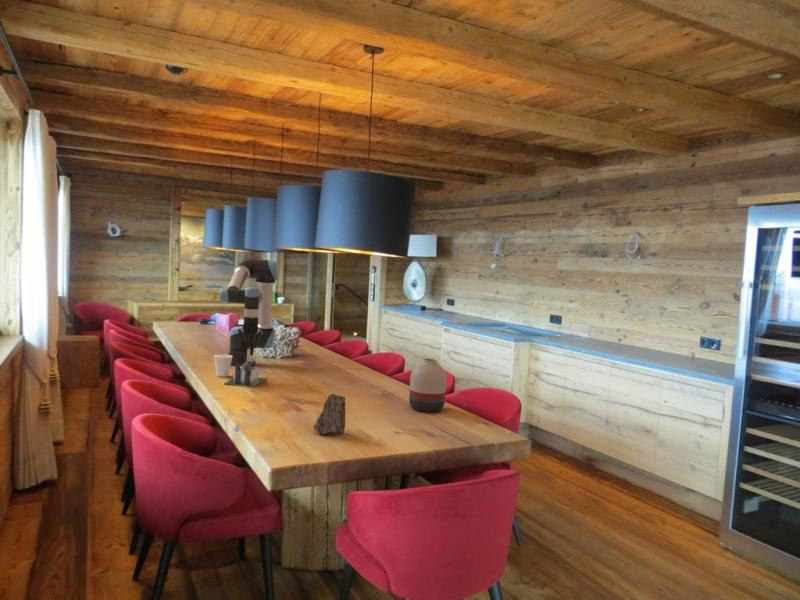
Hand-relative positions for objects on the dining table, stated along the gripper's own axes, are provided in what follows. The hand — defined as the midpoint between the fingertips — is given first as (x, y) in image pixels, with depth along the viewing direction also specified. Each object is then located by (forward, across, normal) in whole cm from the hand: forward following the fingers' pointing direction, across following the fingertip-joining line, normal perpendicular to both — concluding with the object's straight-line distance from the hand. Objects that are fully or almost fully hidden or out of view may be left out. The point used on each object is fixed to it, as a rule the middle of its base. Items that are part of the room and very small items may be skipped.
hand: (248, 361), depth 303 cm
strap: (+2, 0, -2) cm, 3 cm away
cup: (+11, -17, +8) cm, 22 cm away
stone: (+11, +60, -77) cm, 98 cm away
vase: (+11, +96, -27) cm, 100 cm away
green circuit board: (+11, 0, -2) cm, 11 cm away
